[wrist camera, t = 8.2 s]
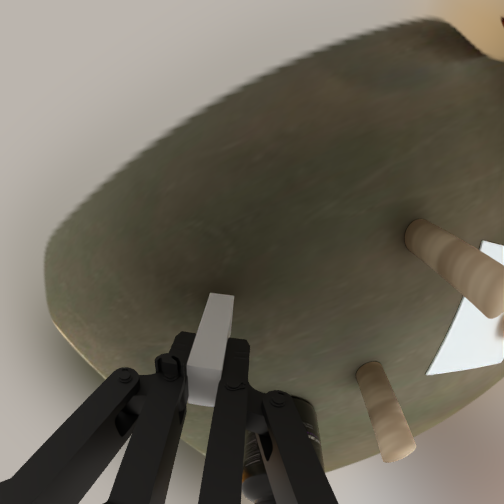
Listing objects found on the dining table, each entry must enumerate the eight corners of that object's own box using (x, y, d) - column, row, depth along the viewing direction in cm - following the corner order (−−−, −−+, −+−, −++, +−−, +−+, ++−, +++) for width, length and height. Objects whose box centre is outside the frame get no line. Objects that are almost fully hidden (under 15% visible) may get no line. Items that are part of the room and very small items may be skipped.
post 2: (435, 222, 17) (522, 272, 8) (427, 254, 18) (503, 318, 9) (409, 215, 17) (496, 268, 8) (400, 250, 18) (476, 319, 9)
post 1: (386, 361, 21) (422, 441, 13) (376, 381, 22) (405, 459, 14) (361, 361, 21) (393, 447, 13) (352, 382, 22) (377, 464, 14)
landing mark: (545, 258, 17) (547, 258, 17) (500, 361, 22) (501, 362, 22) (481, 239, 17) (483, 240, 17) (425, 373, 22) (426, 375, 22)
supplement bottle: (328, 400, 23) (350, 513, 12) (296, 436, 25) (304, 532, 14) (259, 387, 22) (257, 514, 11) (235, 425, 25) (226, 529, 13)
